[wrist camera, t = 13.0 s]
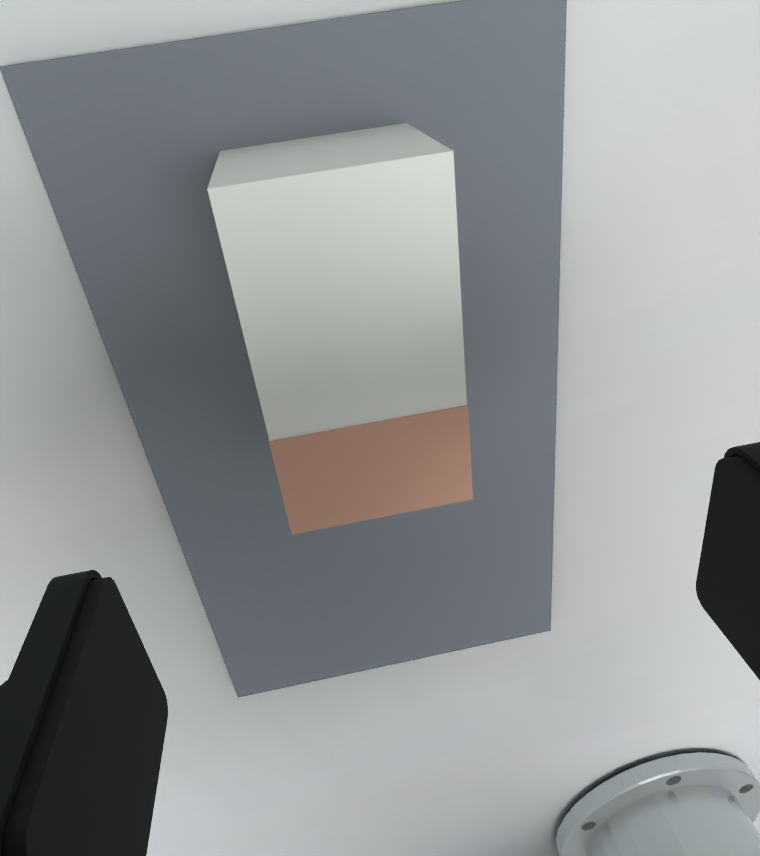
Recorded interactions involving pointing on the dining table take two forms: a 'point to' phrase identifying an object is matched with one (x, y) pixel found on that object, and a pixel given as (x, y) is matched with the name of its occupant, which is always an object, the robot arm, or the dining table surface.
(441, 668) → the dining table surface
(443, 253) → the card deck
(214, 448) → the mat
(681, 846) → the robot arm
